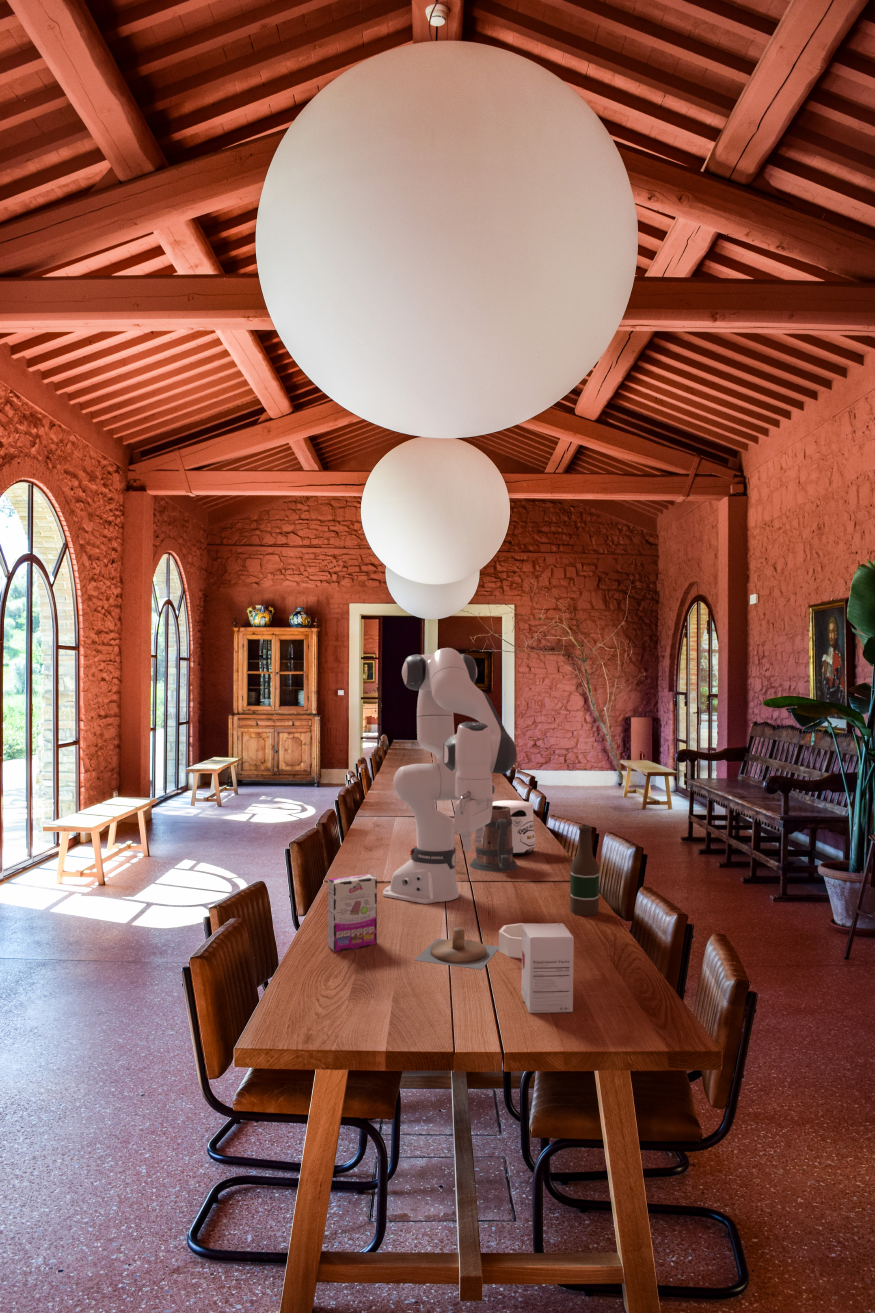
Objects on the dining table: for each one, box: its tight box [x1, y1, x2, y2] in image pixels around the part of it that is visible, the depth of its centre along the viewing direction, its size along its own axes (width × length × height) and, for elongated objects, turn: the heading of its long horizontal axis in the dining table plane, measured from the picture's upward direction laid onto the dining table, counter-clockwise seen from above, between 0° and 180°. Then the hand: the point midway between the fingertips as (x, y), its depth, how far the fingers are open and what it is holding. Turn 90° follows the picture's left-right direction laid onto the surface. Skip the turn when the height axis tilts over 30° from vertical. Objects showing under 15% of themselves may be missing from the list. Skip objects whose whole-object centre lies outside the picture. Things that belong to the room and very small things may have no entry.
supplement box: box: [521, 922, 575, 1014], centre depth 166 cm, size 9×9×15 cm
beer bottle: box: [569, 824, 600, 917], centre depth 229 cm, size 8×8×24 cm
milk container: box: [492, 799, 536, 856], centre depth 303 cm, size 17×17×18 cm
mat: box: [414, 938, 499, 970], centre depth 193 cm, size 16×16×1 cm
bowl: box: [498, 923, 525, 960], centre depth 196 cm, size 12×12×5 cm
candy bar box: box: [327, 873, 378, 953], centre depth 199 cm, size 11×5×16 cm, turn 117°
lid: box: [431, 926, 486, 963], centre depth 193 cm, size 13×13×6 cm
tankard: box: [469, 806, 520, 873], centre depth 279 cm, size 24×17×20 cm
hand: (473, 847), depth 198 cm, fingers open, 8 cm apart
